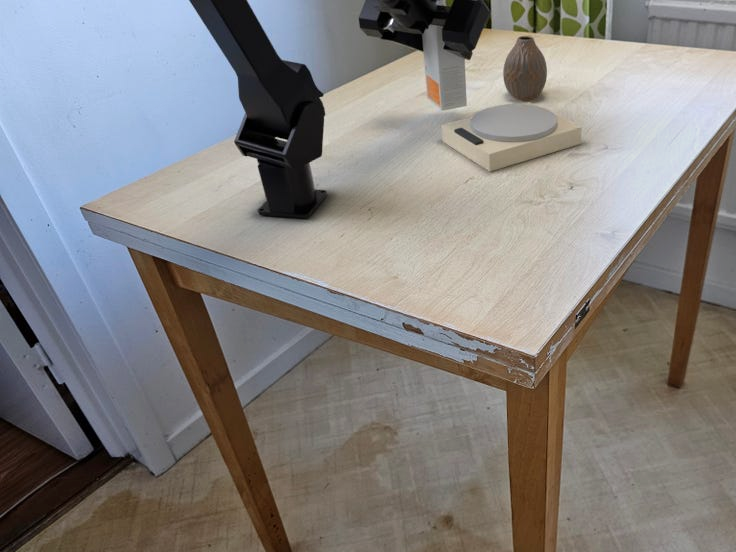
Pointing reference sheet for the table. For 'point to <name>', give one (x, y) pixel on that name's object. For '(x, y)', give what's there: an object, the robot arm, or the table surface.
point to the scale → (510, 135)
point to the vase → (525, 70)
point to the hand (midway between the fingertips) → (449, 53)
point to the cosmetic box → (443, 72)
